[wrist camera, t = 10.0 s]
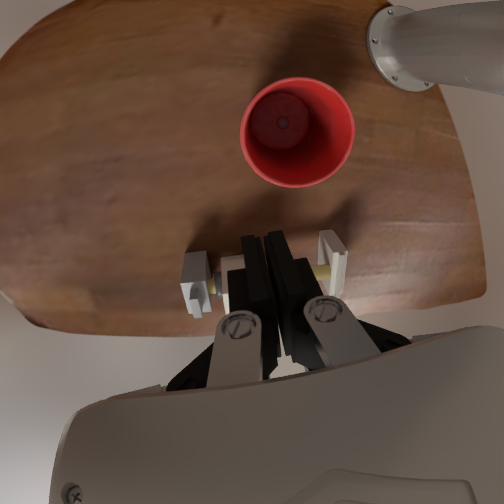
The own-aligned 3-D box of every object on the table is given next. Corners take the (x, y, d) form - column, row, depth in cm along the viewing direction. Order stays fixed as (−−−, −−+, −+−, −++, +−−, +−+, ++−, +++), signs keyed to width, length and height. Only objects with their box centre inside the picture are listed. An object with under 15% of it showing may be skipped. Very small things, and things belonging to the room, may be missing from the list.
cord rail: (332, 229, 42) (356, 263, 34) (329, 269, 45) (349, 307, 38) (183, 246, 41) (177, 287, 33) (192, 286, 44) (189, 330, 37)
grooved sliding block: (258, 252, 40) (267, 289, 33) (260, 283, 42) (269, 322, 36) (220, 257, 39) (222, 295, 33) (225, 288, 42) (228, 327, 35)
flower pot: (326, 157, 36) (358, 180, 28) (241, 169, 36) (249, 197, 28) (318, 76, 30) (352, 74, 22) (227, 85, 30) (230, 84, 22)
